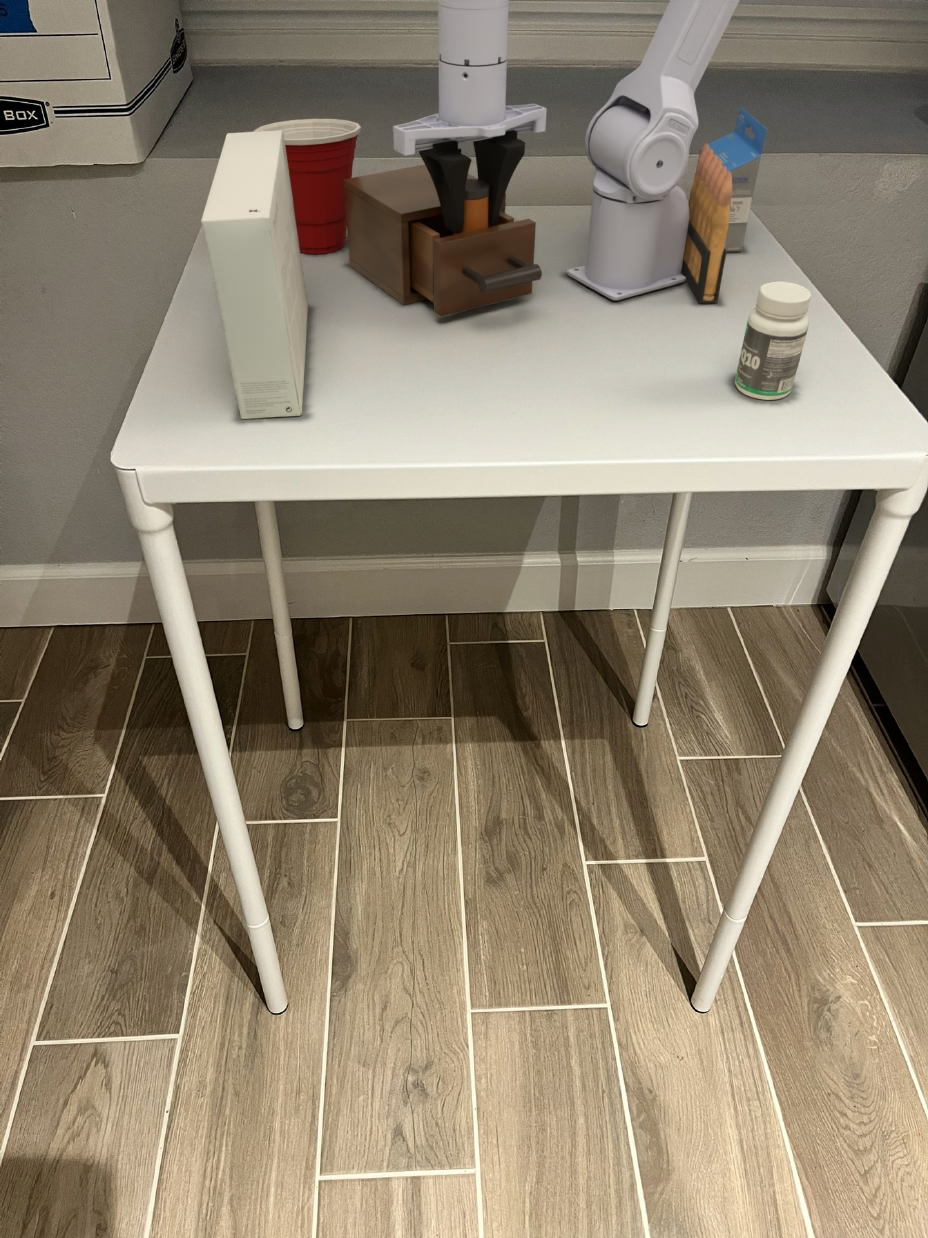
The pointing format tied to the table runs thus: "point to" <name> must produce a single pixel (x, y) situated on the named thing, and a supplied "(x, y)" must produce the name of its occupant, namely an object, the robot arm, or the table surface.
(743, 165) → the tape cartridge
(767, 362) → the pill bottle
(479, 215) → the bottle
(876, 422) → the table surface
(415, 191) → the cabinet
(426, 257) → the drawer
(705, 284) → the ammunition clip
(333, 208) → the plastic cup
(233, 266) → the skincare box
